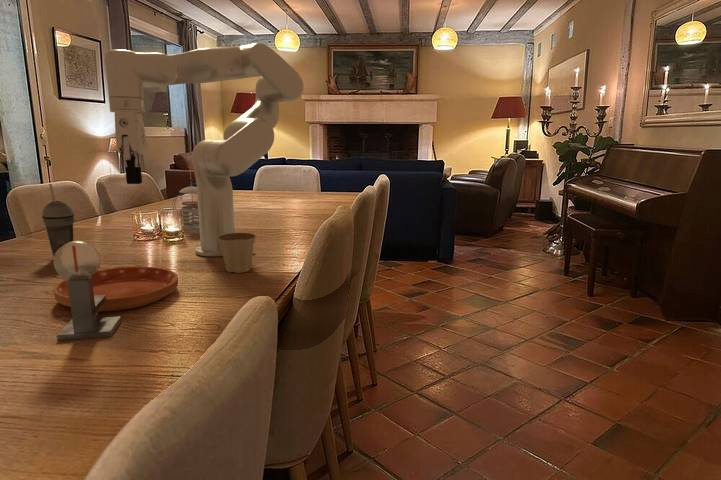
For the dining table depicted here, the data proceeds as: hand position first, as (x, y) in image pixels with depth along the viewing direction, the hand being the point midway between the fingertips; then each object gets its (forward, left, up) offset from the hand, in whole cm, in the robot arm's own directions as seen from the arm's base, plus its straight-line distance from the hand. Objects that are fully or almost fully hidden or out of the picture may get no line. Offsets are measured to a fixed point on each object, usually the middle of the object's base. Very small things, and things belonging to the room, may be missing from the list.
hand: (134, 183), depth 116 cm
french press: (-7, -46, -21) cm, 51 cm away
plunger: (0, +37, -19) cm, 42 cm away
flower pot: (-24, +8, -21) cm, 33 cm away
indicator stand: (0, +41, -21) cm, 46 cm away
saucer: (0, +23, -22) cm, 32 cm away
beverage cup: (+22, -12, -21) cm, 33 cm away
